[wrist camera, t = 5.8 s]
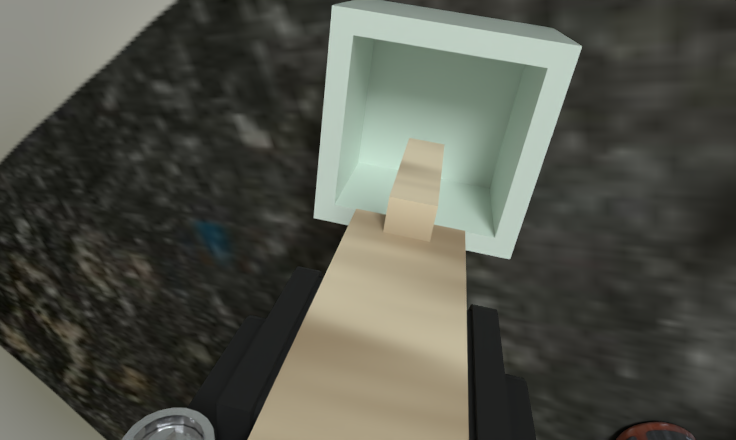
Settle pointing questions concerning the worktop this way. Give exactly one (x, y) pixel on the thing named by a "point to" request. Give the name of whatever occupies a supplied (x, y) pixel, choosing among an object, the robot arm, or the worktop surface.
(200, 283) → the worktop surface
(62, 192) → the worktop surface
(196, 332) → the worktop surface
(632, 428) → the supplement bottle
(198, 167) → the worktop surface
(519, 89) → the holder
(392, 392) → the wooden block with tab
